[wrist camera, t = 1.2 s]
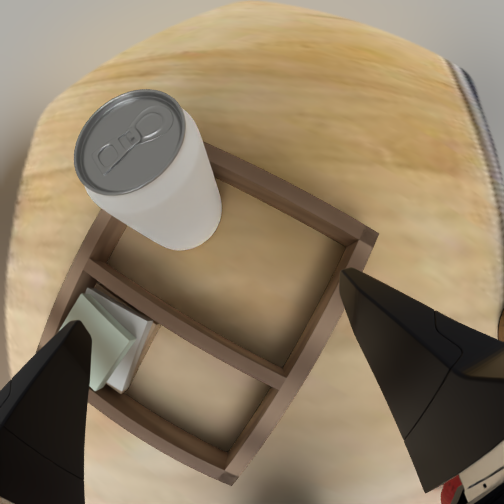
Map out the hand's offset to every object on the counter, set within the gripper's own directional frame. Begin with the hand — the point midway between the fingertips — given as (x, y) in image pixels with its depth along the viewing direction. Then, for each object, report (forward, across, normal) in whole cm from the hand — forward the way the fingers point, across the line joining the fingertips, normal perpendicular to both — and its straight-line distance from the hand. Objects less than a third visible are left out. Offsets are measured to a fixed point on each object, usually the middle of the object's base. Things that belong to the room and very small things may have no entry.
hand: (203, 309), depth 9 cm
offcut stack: (+9, +10, +9) cm, 17 cm away
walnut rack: (+10, +3, +8) cm, 14 cm away
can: (+15, +3, +3) cm, 16 cm away
